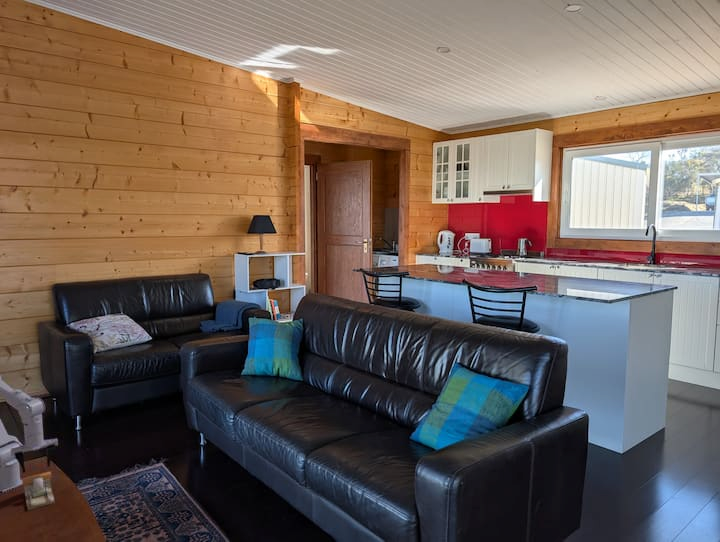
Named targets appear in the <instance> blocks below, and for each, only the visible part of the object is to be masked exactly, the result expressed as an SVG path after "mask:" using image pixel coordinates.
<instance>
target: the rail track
mask: <svg viewBox="0 0 720 542" xmlns="http://www.w3.org/2000/svg"><path fill="white" fill-rule="evenodd" d="M51 482H52V481H51V478H49V479H45V480H43V487H45V490H46V494H44V495H40V496H37V497H33V496H32V490H34V487H33V483H30V484H26V485H23V490H24V497H25V501H26V508H27V511H31V510H34V509H38V508H42V507H45V506H49V505H52V504H55V503H56V502H55V498H54V493H53V491H52V486H51V485H52V484H51Z"/></svg>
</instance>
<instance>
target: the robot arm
mask: <svg viewBox="0 0 720 542" xmlns="http://www.w3.org/2000/svg"><path fill="white" fill-rule="evenodd" d="M0 396H1V397H4V398H5V401H6V404H7V405H10V406H11V407H12V408H14V409H15V410H17V411H18V415H19V416H20V419H21V423H22V424H23V433H24V444H22V442H20V441H19V439H18V438H17V437H16V436H14V435H11V434H8V431H7V430H6V427H5V426H4V423H3V421H2V420H1V418H0V492H1V491H2V492H1V493H5V492H8V491H10V490H12V488H13V489H15V488H17V487H20V486H23V483H22V478H21V472H20V471H21V470H22V473H23V474H25V473H26V468H25V456H24V453H26V452H30V451H33V452H34V451H38V450H39V449H44V448H45V450H46V465H47V467H50V466H51V461H52V458H53V454H54V453H55V451H56V447H57V446H59V442H58V441H59V440H58V438H51V439H44V428H43V414H42V413H45V411H46V404H45V402H44V400H43V399H42V398H40V397H32V396H30V395H29V394H27V393H25V392H24V391H23V390H22V389H13V388H12V386H9V385H8V384H7V383H6V382H5V381H4V380H2V376H1V374H0ZM20 467H21V470H20ZM9 489H10V490H9ZM7 490H8V491H7ZM4 491H5V492H4Z"/></svg>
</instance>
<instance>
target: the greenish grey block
mask: <svg viewBox="0 0 720 542" xmlns="http://www.w3.org/2000/svg"><path fill="white" fill-rule="evenodd" d="M33 487H34V490H32V496H33V497H37V496H40V495H44V494H46V490H45V487H43V478H37V479H34V480H33Z"/></svg>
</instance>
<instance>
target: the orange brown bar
mask: <svg viewBox="0 0 720 542" xmlns="http://www.w3.org/2000/svg"><path fill="white" fill-rule="evenodd" d="M37 478H43V480H45V479H51V478H52V471H46V472H42V473H39V474H34V475H31V476H30V475H29V476H26V477H24V478H23V477H22V478H21V480H22V483H23V484H22V486H24V485H26V484H30V483H33V480H34V479H37Z"/></svg>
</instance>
